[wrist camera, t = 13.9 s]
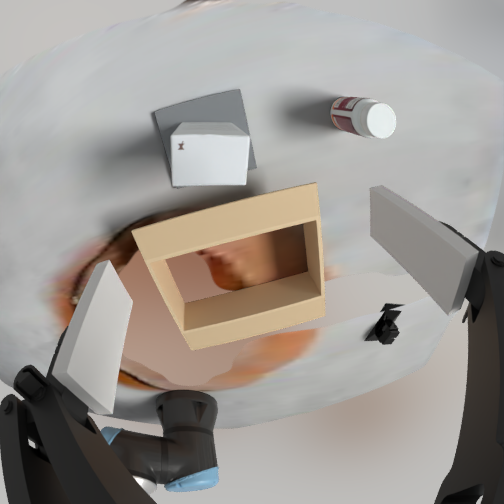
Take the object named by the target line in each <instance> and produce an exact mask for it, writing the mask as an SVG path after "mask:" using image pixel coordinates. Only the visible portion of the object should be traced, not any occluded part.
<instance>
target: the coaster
mask: <svg viewBox="0 0 504 504" xmlns="http://www.w3.org/2000/svg"><path fill="white" fill-rule="evenodd" d="M155 116H156V119H157V123H158V127H159V130H160V134H161V137H162V141H163V144H164V148H165V151H166V155H167V158H168V161H169V165H170V168H171V143H170V136H171V135H172V134H173V132H174V131H175V130H176V129H177V127H178V126H179V125H180V124H181V123H182V122H228V123H233V124H234V125H235V126H237V127H238V128H239V129H241V130H242V131H243V132H244V133H246V134H247V135H248V136H250V133H249V128H248V123H247V119H246V114H245V109H244V105H243V100H242V96H241V91H240V89H238V90H233V91H228V92H224V93H219V94H215V95H211V96H207V97H203V98H199V99H195V100H191V101H187V102H184V103H180V104H177V105H174V106H170V107H167V108H164V109H161V110H158V111H155ZM255 168H257V167H256V162H255V157H254V152H253V147H252V142H251V138H250V146H249V157H248V167H247V170H251V169H255ZM176 187H177V189H179V188H182V187H186V186H176Z"/></svg>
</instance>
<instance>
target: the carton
mask: <svg viewBox="0 0 504 504" xmlns="http://www.w3.org/2000/svg"><path fill="white" fill-rule="evenodd" d="M302 223H303V228H304V237H305V246H306V256H307V266H308V272H304V273H301V274H297V275H293V276H290V277H286V278H282V279H279V280H275V281H271V282H268V283H264V284H260V285H256V286H252V287H249V288H245V289H241V290H237V291H233V292H229V293H226V294H221V295H217V296H213V297H209V298H205V299H201V300H197V301H193V302H188V303H184V301H183V299H182V297H181V295H180V292H179V290H178V288H177V286H176V284H175V281H174V279H173V277H172V275H171V272H170V270H169V268H168V266H167V263H166V261H165V259H167V258H171V257H175V256H178V255H182V254H185V253H189V252H193V251H197V250H201V249H205V248H208V247H212V246H216V245H220V244H224V243H227V242H231V241H235V240H239V239H243V238H247V237H251V236H254V235H258V234H262V233H266V232H270V231H274V230H278V229H282V228H286V227H290V226H294V225H298V224H302ZM131 232H132V234H133V236H134V239H135V241H136V243H137V246H138V248H139V250H140V252H141V254H142V257H143V258H144V261H145V263H146V265H147V267H148V269H149V272H150V274H151V276H152V277H153V280H154V282H155V284H156V286H157V288H158V290H159V292H160V294H161V296H162V298H163V300H164V302H165V304H166V305H167V307H168V309H169V311H170V313H171V315H172V317H173V318H174V320H175V322H176V324H177V326H178V327H179V329H180V331H181V333H182V335H183V337H184V338H185V340H186V342H187V343H188V345H189V347H190V349H191V350H196V349H201V348H206V347H210V346H215V345H219V344H224V343H228V342H233V341H236V340H241V339H245V338H249V337H253V336H257V335H261V334H264V333H268V332H272V331H276V330H279V329H282V328H286V327H290V326H293V325H297V324H300V323H304V322H307V321H310V320H313V319H317V318H320V317H323V316H325V289H324V265H323V248H322V234H321V221H320V209H319V199H318V189H317V183H316V182H314V183H309V184H305V185H300V186H296V187H291V188H287V189H282V190H278V191H274V192H269V193H265V194H261V195H257V196H253V197H248V198H244V199H240V200H236V201H233V202H229V203H225V204H221V205H217V206H213V207H210V208H206V209H202V210H199V211H195V212H191V213H188V214H184V215H181V216H177V217H174V218H170V219H167V220H164V221H160V222H157V223H153V224H150V225H147V226H144V227H140V228H137V229H134V230H132V231H131Z"/></svg>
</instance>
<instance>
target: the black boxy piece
mask: <svg viewBox="0 0 504 504" xmlns="http://www.w3.org/2000/svg"><path fill="white" fill-rule="evenodd" d="M403 305H405V304H392V303H385V305H384V306H383V308H382V310H381V311H380V312H384V311H385V312H384V313H383V315H382V316H381V318H380V319H379V321H378V322H377V323H376V325H375V326H374V328H373V329H372V331H371V332H370V333H369V335H368V336H367V338H366V339H365V340H364V341H377V340H379V342H380V343H382V344H383V345H385V344H392V342H393V341H394V340H395V339H394V338H396V337H397V336H398V334H399V331H398V328H397V326H396V325H395V323H394V321H395V320H396V319H397V317H398V316H399V314H400V313H401V311H395V310H391V309H394V308H397V307H400V306H403Z"/></svg>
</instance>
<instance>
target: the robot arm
mask: <svg viewBox="0 0 504 504" xmlns="http://www.w3.org/2000/svg"><path fill="white" fill-rule="evenodd" d="M370 236H371V237H372V238H373V239H374V240H376V241H377V242H378V243H379V244H380V245H381V246H382V247H383V248H384V249H385V250H386V251H387V252H388V253H389V254H390V255H391V256H392V257H393V258H394V259H395V260H396V261H397V262H398V263H399V264H400V265H401V266H402V267H403V268H404V269H405V270H406V271H407V272H408V273H409V274H410V275H411V276H412V277H413V278H414V279H415V280H416V281H417V282H418V283H419V284H420V285H421V286H422V287H423V289H424V290H425V291H426V292H427V293H428V294H429V295H430V296H431V297H432V298H433V300H434V301H435V302H436V303H437V304H438V305H439V306H440V307H441V308H442V310H443V311H444V312H445V313H446V314H447V315H448V316H449V315H451V314H453V313H455V312H456V311H458V310H460V309H461V307H462V304H463V301H464V298H466V299H467V300H468V301H469V305H468V307H467V310H466V312H465V315H464V317H463V320H462V323H464V322H465V320H466V318H467V317H468V371H467V385H466V395H465V404H464V412H463V418H462V425H461V430H460V436H459V440H458V445H457V449H456V454H455V458H454V462H453V465H452V468H451V470H450V472H449V473H448V475H447V476H446V477H445V479H444V481H443V483H442V484H441V487H440V489H439V492H438V495H437V497H436V500H435V503H434V504H476V502H477V500H478V499H479V498H480V496H482V495H483V498H482V501H481V504H504V254H503V253H501V252H498V251H489V252H487V253H485V252H484V251H483V250H482V249H481V248H479V247H478V246H477V245H475V244H474V243H473V242H472V241H470V240H469V239H468V238H466V237H464V235H462V234H461V233H460V232H457V230H455V229H454V228H453V227H451V226H450V225H448V224H445V223H443V222H440V221H437V220H436V219H434V218H433V217H432V216H430V215H429V214H427V213H426V212H424V211H423V210H421V209H420V208H418V207H417V206H415V205H413V204H412V203H410V202H409V201H407V200H406V199H404V198H402V197H401V196H399V195H397V194H396V193H394V192H392V191H391V190H389V189H387V188H386V187H384V186H382V185H381V186H377V187H372V188H370ZM132 304H133V301H132V300H131V298H130V296H129V295H128V293H127V291H126V289H125V288H124V286H123V284H122V282H121V281H120V279H119V277H118V275H117V273H116V271H115V269H114V268H113V266H112V264H111V262H110V260H107V261H104V262H101V263H98V264H97V265H96V267H95V269H94V271H93V273H92V275H91V277H90V279H89V281H88V283H87V285H86V287H85V289H84V292H83V294H82V296H81V298H80V300H79V303H78V305H77V307H76V310H75V312H74V314H73V317H72V319H71V321H70V324H69V326H67V328H66V329H65V331H64V332H63V333H62V335H61V337H60V339H59V342H58V346H57V347H56V350H55V354H54V355H53V358H52V361H51V364H50V367H49V370H48V373H47V376H46V378H45V377H44V376H43V375H42V374H41V373H40V372H39V371H38V370H37V369H36V368H35V367H34V366H32V365H27V366H25V367H24V368H22V369H21V370H20V371H19V372H18V374H17V376H16V378H15V380H14V390H15V391H16V392H18V393H19V394H20V395H21V396H22V397H23V398H24V399H25V400H22V401H21V400H20V399H18V398H17V397H16V396H15V395H13V394H10V395H7V396H6V397H5V398H4V399H3V400H2V402H1V405H0V449H1V460H2V468H3V476H4V481H5V488H6V492H7V497H8V502H9V504H157V503H156V502H155V501H154V500H153V499H152V498H151V497H150V494H151V493H153V492H154V491H155V490H156V489H157V484H164V485H165V486H164V487H165V488H166V490H167V491H174V492H187V491H197V490H203V489H208V488H211V487H213V486H215V485H216V484H217V483H218V480H219V478H218V466H217V458H216V452H215V444H214V437H213V429H214V425H215V421H216V417H217V413H218V407H217V402H216V400H215V399H214V398H213V397H211V396H210V395H207V394H205V393H201V392H197V391H188V390H180V391H172V392H168V393H165V394H162V395H161V396H159V397H158V398H157V401H156V411H157V414H158V417H159V420H160V422H161V425H162V428H163V437H159V436H153V435H148V434H142V433H137V432H132V431H128V430H124V429H122V428H121V429H118V428H113V427H104V428H103V429H102V430H101V431H100V430H99V429H98V427H97V425H96V424H95V422H94V421H93V419H92V418H91V417H90V416H89V415H88V414H87V413H88V407H89V408H90V409H91V410H93V411H94V412H95V413H96V414H98V415H101V414H113V409H114V401H115V394H116V387H117V380H118V374H119V368H120V362H121V356H122V351H123V346H124V341H125V336H126V331H127V326H128V322H129V317H130V313H131V308H132ZM28 439H29V440H31V441H33V442H34V443H35V447H36V448H33V447H31V446H30V445H29V442H28ZM156 483H157V484H156Z"/></svg>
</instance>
